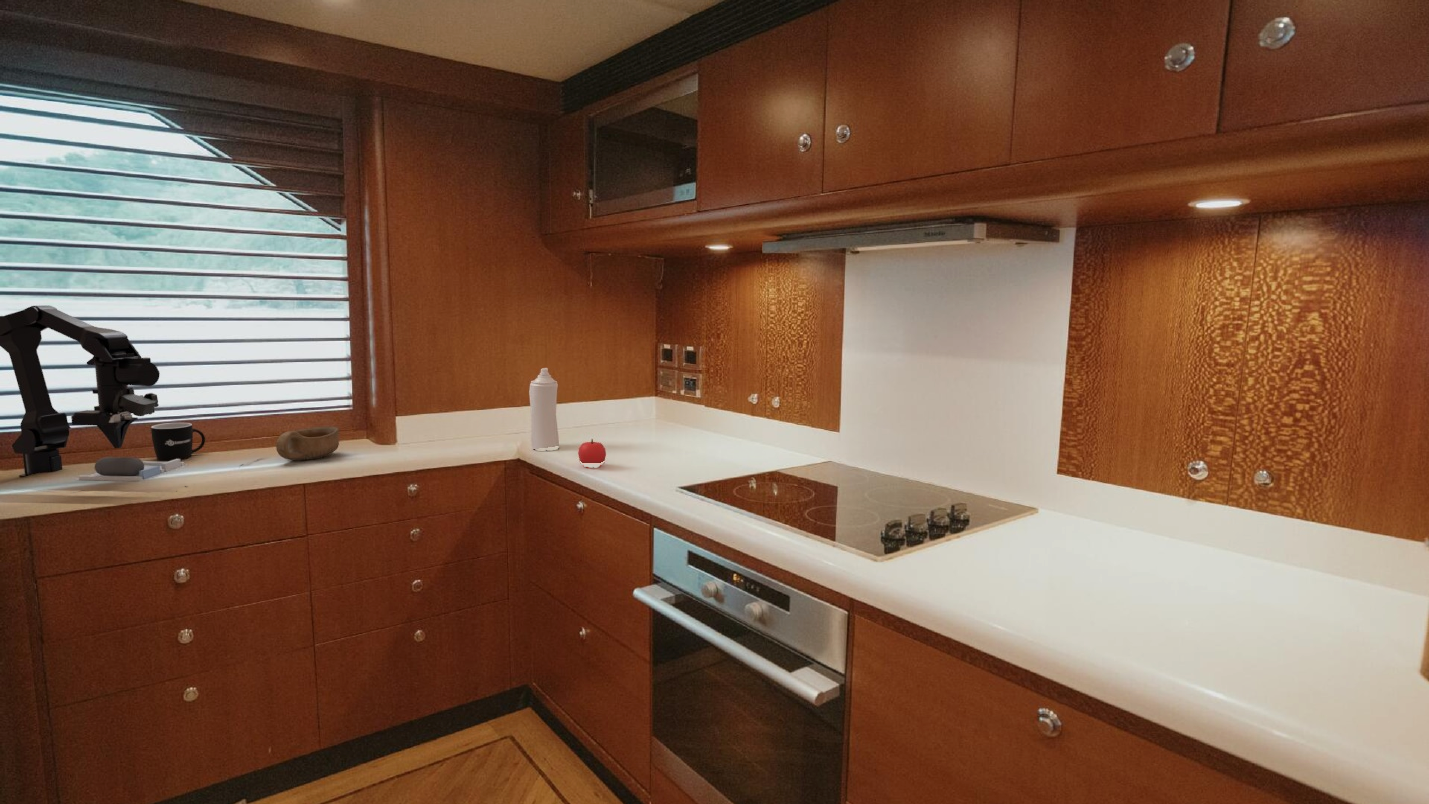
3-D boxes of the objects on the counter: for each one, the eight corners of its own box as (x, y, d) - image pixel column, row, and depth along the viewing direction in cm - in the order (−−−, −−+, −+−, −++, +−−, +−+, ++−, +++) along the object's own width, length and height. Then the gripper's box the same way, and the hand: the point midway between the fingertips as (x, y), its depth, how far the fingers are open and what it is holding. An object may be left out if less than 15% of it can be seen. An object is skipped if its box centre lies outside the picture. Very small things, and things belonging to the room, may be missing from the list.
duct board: (75, 484, 175) (73, 471, 174) (125, 468, 190) (124, 456, 190) (144, 485, 175) (143, 472, 175) (189, 469, 191) (188, 457, 191)
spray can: (518, 447, 229) (518, 368, 226) (542, 442, 239) (542, 366, 235) (546, 452, 224) (546, 371, 220) (569, 446, 233) (569, 368, 229)
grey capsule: (90, 478, 176) (88, 459, 176) (105, 472, 181) (103, 454, 180) (136, 479, 177) (133, 460, 176) (149, 473, 181) (147, 455, 180)
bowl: (319, 462, 198) (307, 427, 196) (271, 474, 199) (259, 439, 197) (354, 447, 215) (343, 415, 214) (309, 459, 216) (298, 426, 215)
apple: (608, 463, 212) (608, 436, 211) (603, 470, 204) (603, 442, 203) (580, 463, 212) (581, 435, 211) (575, 469, 204) (575, 441, 203)
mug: (161, 467, 192) (158, 429, 191) (148, 462, 197) (145, 425, 196) (213, 460, 202) (210, 424, 200) (199, 455, 207) (196, 419, 206)
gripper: (117, 390, 167) (122, 457, 169) (173, 380, 185) (178, 441, 187) (66, 389, 166) (73, 456, 169) (128, 379, 185) (133, 439, 187)
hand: (118, 447), depth 178 cm, fingers closed
